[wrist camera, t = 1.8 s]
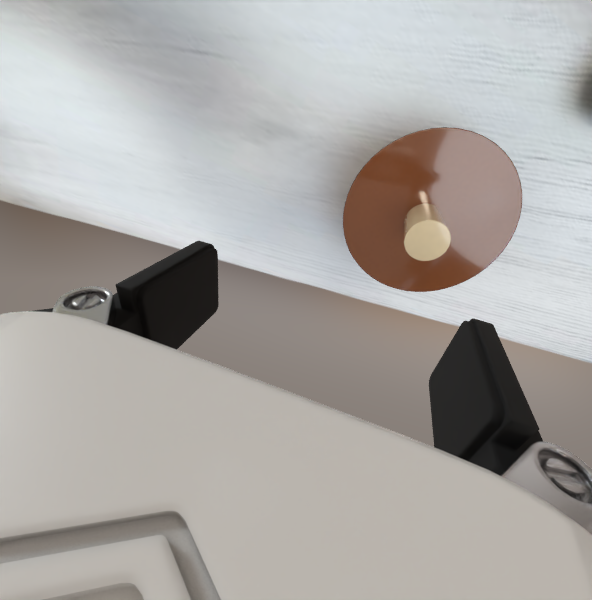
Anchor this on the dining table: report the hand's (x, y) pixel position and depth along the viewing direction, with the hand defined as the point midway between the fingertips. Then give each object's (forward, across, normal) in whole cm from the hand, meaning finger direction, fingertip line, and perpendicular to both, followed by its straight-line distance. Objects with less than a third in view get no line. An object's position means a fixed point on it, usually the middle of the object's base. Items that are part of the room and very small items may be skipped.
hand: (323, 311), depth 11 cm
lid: (+18, -4, 0) cm, 18 cm away
